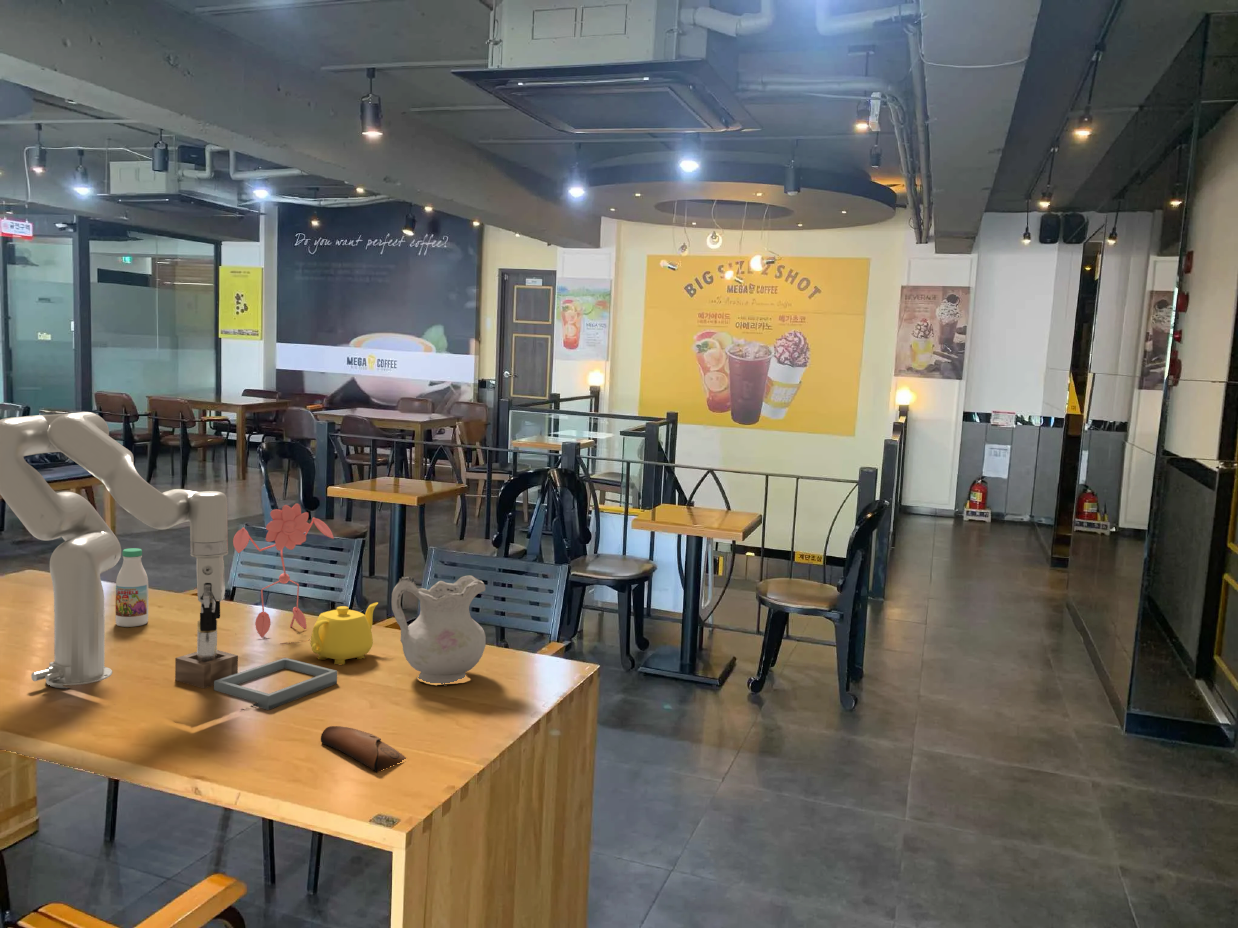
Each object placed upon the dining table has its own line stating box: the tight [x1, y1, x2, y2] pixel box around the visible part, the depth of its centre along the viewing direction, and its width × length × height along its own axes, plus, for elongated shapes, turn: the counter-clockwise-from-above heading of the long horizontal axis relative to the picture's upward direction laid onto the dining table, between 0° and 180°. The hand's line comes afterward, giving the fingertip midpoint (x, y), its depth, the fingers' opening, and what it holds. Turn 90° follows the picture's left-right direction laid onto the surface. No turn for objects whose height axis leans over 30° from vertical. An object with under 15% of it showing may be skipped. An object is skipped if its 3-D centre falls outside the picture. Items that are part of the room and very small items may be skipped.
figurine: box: [232, 503, 335, 645], centre depth 244 cm, size 15×26×35 cm, turn 135°
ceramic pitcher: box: [391, 575, 487, 684], centre depth 219 cm, size 22×20×25 cm
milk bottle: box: [115, 547, 149, 628], centre depth 248 cm, size 8×8×20 cm
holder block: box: [174, 649, 239, 689], centre depth 208 cm, size 9×9×6 cm
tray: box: [213, 657, 338, 711], centre depth 207 cm, size 20×16×3 cm
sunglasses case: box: [320, 725, 407, 773], centre depth 177 cm, size 18×7×7 cm
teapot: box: [309, 601, 379, 665], centre depth 232 cm, size 14×20×13 cm
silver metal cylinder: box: [196, 619, 218, 662], centre depth 208 cm, size 4×4×13 cm
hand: (210, 624), depth 207 cm, fingers open, 9 cm apart
